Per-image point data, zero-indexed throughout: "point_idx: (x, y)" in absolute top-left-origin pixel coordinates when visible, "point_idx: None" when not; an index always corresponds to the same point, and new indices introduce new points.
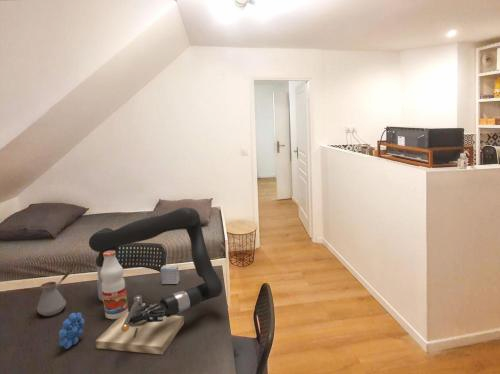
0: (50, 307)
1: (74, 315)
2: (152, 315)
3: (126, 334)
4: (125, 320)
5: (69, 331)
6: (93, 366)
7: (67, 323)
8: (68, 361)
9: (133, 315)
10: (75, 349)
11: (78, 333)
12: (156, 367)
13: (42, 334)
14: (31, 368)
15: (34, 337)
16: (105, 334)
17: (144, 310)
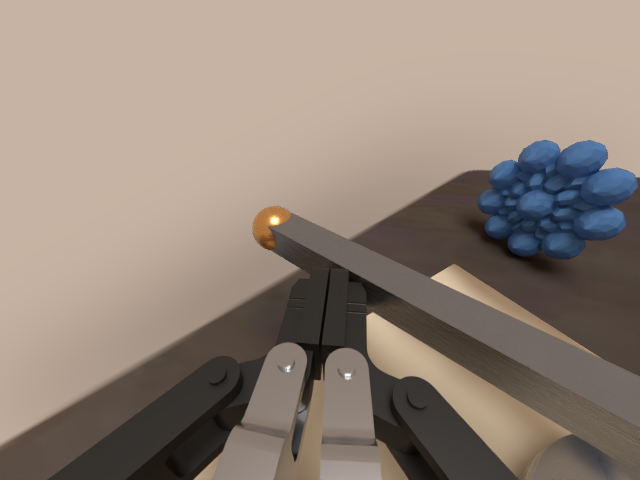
0: None
1: (579, 151)
2: (141, 423)
3: (427, 372)
4: (332, 234)
5: (516, 189)
6: None
7: (527, 152)
8: (418, 227)
9: (416, 330)
10: (478, 249)
11: (545, 239)
12: (107, 394)
13: (630, 217)
14: (440, 188)
15: (613, 206)
16: (490, 301)
17: (365, 415)
